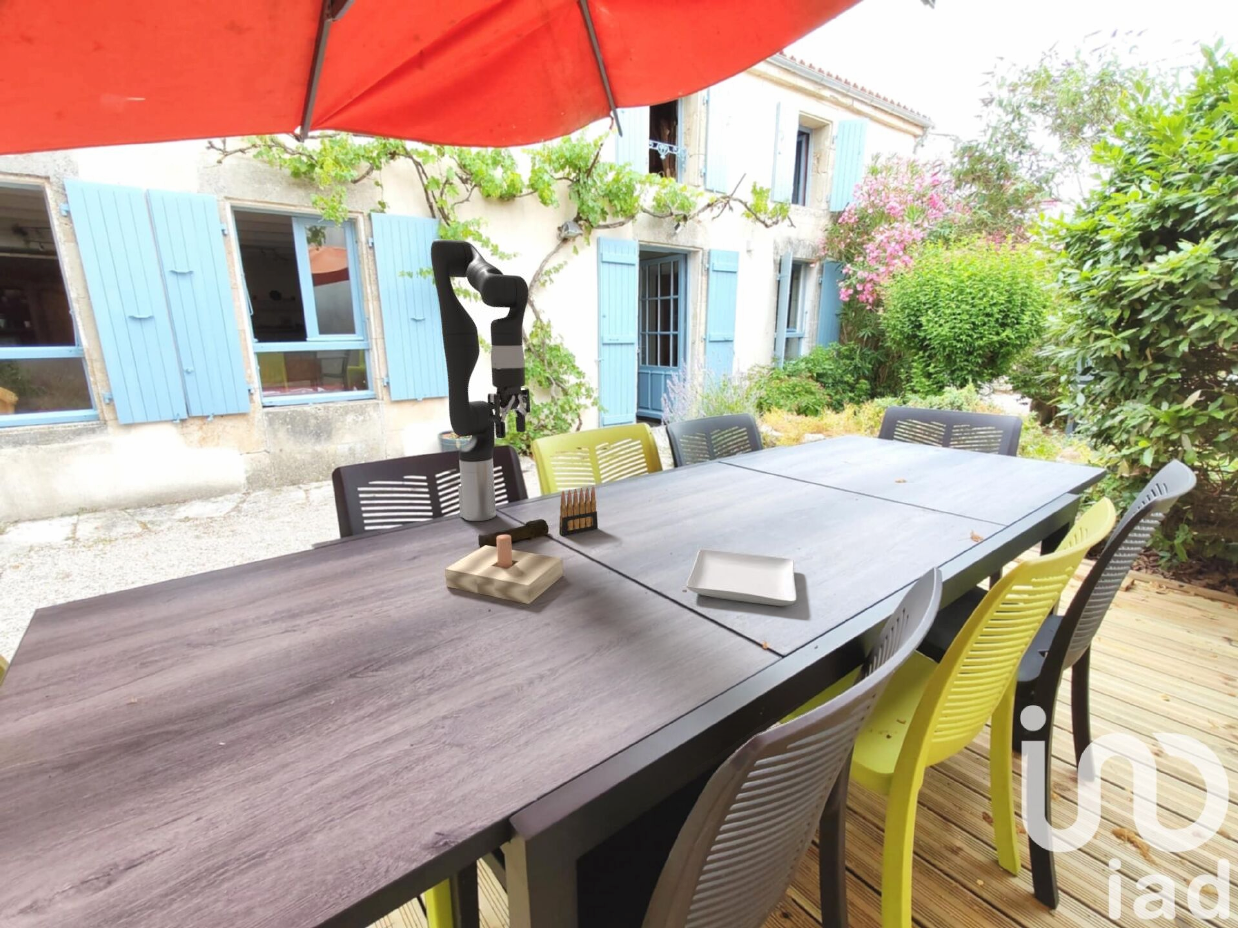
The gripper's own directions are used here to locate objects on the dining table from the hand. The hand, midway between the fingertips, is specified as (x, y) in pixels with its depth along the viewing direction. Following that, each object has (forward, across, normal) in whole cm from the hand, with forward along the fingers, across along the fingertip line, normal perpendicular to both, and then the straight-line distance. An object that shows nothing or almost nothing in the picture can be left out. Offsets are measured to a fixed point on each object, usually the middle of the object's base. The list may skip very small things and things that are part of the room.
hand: (511, 434), depth 130 cm
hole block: (+28, +18, +9) cm, 35 cm away
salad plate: (+29, 0, +56) cm, 63 cm away
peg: (+28, +18, +9) cm, 35 cm away
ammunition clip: (+28, -15, +10) cm, 34 cm away
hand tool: (+29, -3, -2) cm, 29 cm away
